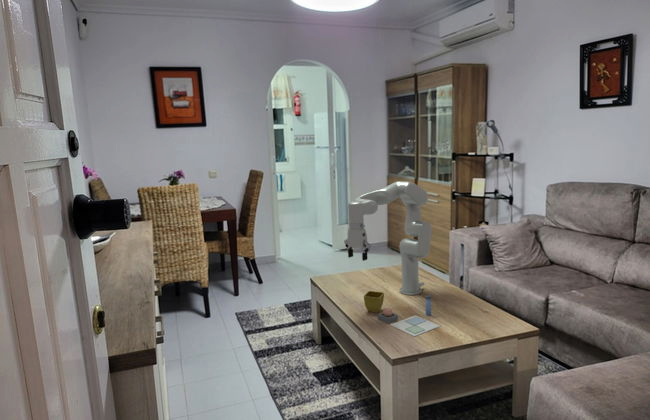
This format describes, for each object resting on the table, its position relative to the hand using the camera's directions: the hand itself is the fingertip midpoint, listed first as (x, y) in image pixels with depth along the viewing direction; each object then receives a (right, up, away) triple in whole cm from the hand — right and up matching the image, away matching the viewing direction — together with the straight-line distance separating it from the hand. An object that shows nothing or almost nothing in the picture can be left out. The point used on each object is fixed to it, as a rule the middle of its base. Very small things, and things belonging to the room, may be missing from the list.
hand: (357, 258), depth 225 cm
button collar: (+15, -30, -6) cm, 34 cm away
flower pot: (+9, -28, +6) cm, 30 cm away
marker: (+36, -28, -3) cm, 46 cm away
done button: (+15, -27, -7) cm, 32 cm away
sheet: (+26, -31, -15) cm, 43 cm away
